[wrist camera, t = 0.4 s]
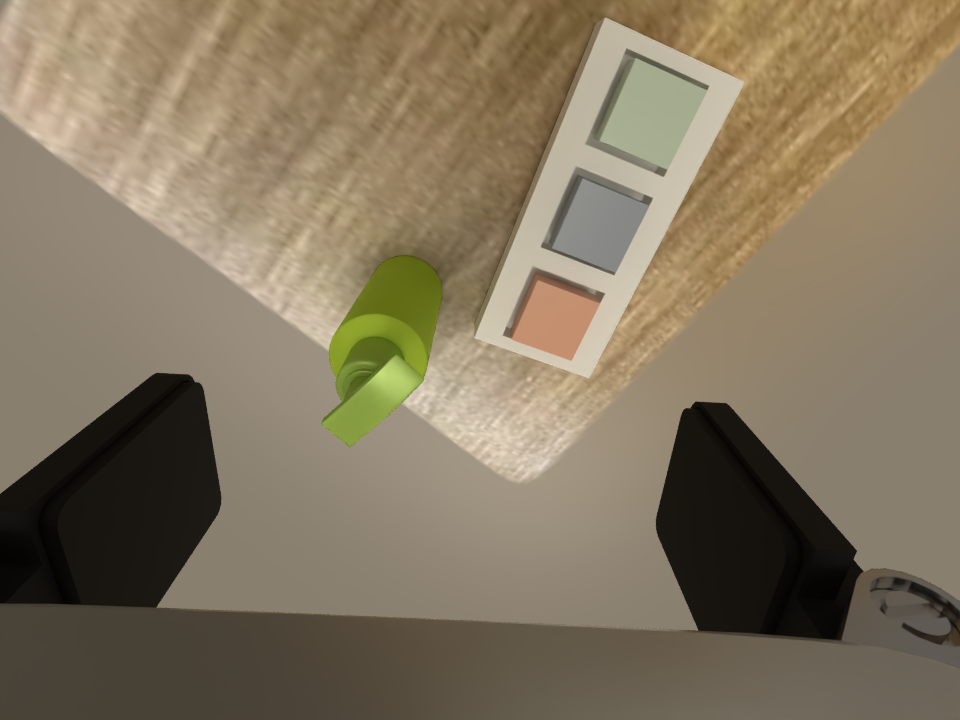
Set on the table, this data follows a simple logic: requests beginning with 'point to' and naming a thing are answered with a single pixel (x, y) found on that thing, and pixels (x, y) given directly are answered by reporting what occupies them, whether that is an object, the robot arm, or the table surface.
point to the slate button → (597, 224)
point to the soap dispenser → (383, 345)
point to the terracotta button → (554, 317)
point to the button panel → (609, 167)
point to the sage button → (649, 113)
